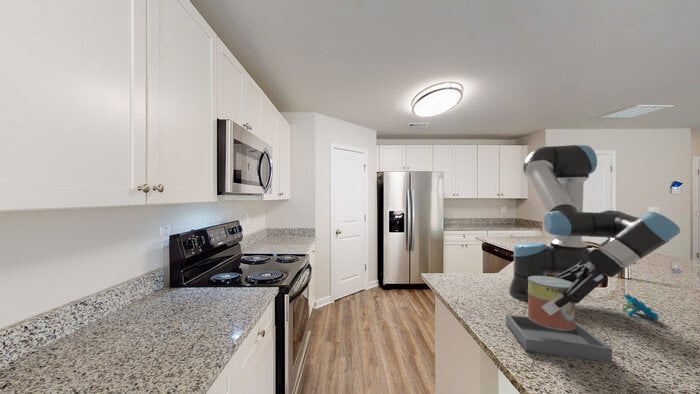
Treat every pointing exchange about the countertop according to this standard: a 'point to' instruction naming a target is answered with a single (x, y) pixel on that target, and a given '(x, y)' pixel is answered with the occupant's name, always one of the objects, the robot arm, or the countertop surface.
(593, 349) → the tray
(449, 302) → the countertop surface
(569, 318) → the canned food
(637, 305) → the blue irregular piece
